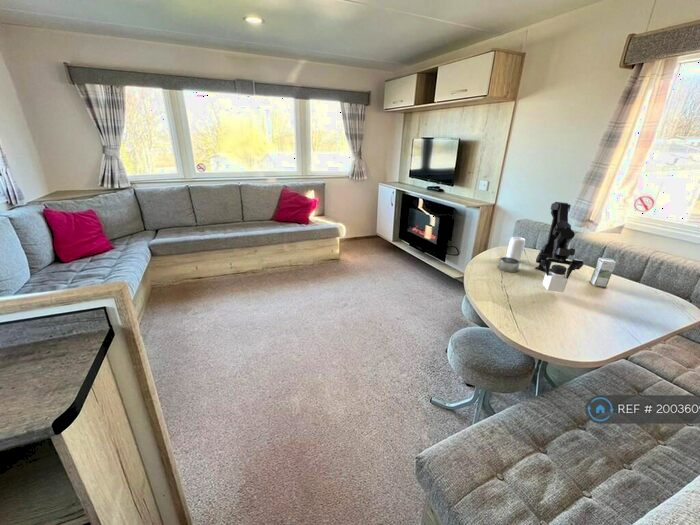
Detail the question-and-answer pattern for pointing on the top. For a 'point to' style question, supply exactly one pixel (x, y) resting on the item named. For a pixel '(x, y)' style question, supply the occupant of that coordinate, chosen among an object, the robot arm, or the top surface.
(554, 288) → the medicine bottle
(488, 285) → the top surface
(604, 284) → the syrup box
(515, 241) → the cup
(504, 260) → the grey bowl
